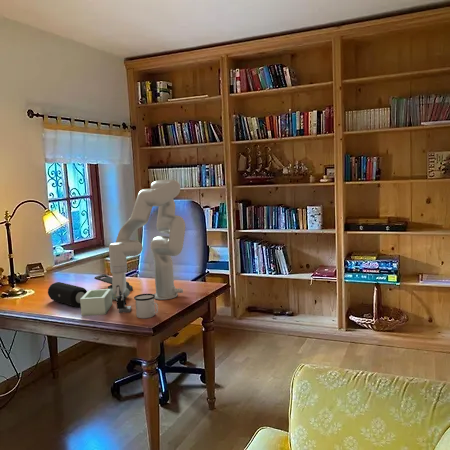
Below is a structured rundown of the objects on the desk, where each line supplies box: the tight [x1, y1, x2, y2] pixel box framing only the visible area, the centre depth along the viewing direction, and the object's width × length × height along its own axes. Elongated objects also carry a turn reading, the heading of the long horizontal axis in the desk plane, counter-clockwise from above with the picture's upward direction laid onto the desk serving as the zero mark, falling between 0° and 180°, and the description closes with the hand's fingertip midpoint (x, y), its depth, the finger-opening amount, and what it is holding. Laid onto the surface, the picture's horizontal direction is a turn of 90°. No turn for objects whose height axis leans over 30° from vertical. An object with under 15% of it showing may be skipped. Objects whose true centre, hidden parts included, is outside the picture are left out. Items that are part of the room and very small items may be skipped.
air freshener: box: [111, 284, 131, 301], centre depth 245 cm, size 11×8×10 cm
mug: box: [133, 293, 159, 319], centre depth 214 cm, size 12×10×9 cm
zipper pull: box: [94, 274, 134, 292], centre depth 266 cm, size 9×7×25 cm
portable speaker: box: [47, 281, 88, 308], centre depth 241 cm, size 26×10×10 cm, turn 49°
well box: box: [80, 288, 113, 317], centre depth 227 cm, size 11×16×8 cm
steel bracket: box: [118, 293, 132, 314], centre depth 224 cm, size 5×5×8 cm
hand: (121, 306), depth 224 cm, fingers closed on steel bracket, 5 cm apart
